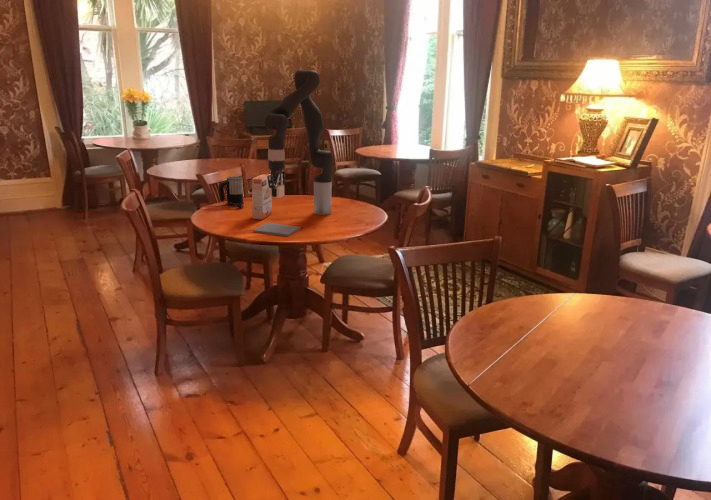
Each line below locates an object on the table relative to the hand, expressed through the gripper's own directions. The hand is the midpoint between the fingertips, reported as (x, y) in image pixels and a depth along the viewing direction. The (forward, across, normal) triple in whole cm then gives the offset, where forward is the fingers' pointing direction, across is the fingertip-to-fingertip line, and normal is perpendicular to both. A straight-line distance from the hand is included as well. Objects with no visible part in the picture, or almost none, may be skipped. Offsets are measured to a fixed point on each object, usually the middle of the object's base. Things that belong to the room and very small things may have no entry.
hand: (277, 195), depth 262 cm
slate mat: (+17, 0, 0) cm, 17 cm away
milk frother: (+17, -34, -44) cm, 58 cm away
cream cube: (0, 0, 0) cm, 0 cm away
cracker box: (+17, -20, -19) cm, 33 cm away
